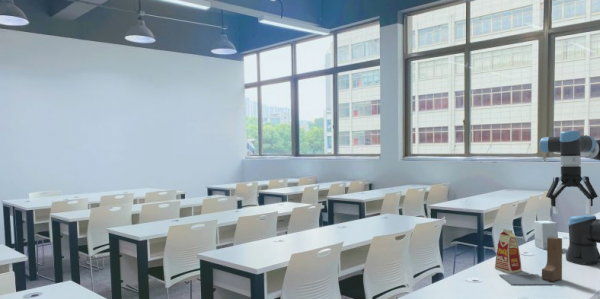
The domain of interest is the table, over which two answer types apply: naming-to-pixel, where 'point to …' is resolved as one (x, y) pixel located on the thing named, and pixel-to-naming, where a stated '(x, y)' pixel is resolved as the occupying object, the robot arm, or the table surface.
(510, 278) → the mat
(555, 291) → the table surface
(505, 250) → the milk carton
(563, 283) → the table surface
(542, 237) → the supplement box
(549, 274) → the wooden block
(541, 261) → the table surface
